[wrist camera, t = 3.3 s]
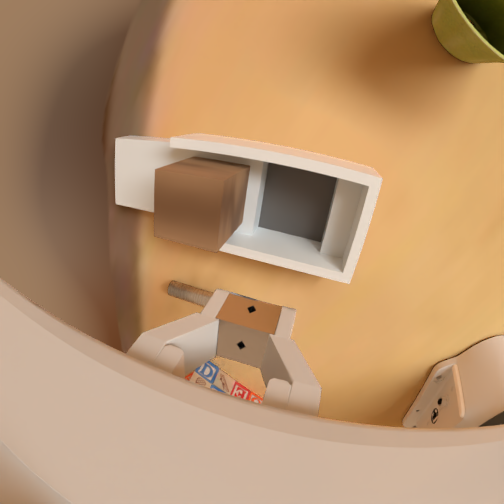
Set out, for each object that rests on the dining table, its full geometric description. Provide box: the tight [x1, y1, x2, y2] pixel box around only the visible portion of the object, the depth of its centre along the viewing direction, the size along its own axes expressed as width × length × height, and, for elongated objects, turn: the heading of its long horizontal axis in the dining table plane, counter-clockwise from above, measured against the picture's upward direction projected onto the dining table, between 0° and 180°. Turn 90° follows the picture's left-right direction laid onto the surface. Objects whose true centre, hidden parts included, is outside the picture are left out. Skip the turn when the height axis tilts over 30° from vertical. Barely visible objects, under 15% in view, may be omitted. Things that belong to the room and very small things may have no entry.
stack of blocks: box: [185, 361, 263, 404], centre depth 35 cm, size 21×6×12 cm, turn 50°
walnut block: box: [154, 157, 250, 253], centre depth 21 cm, size 5×5×6 cm
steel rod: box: [168, 281, 213, 307], centre depth 31 cm, size 14×2×2 cm, turn 82°
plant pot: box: [432, 0, 504, 63], centre depth 9 cm, size 9×9×9 cm
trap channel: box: [115, 133, 383, 284], centre depth 23 cm, size 9×24×5 cm, turn 82°
